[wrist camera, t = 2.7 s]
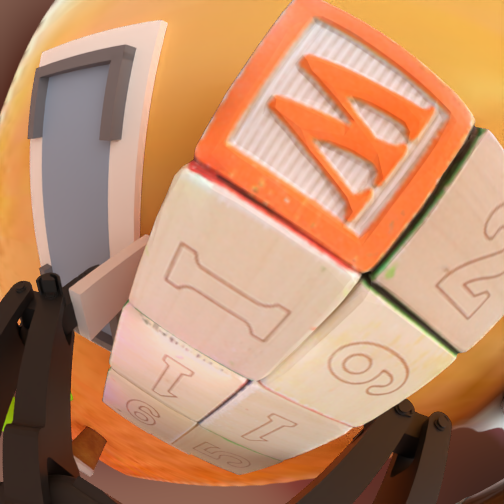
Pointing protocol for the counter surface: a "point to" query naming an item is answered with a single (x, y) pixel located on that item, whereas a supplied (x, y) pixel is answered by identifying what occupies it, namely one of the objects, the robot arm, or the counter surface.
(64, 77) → the blueprint board
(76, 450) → the disposable coffee cup
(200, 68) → the counter surface
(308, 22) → the stack of blocks
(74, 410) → the counter surface
